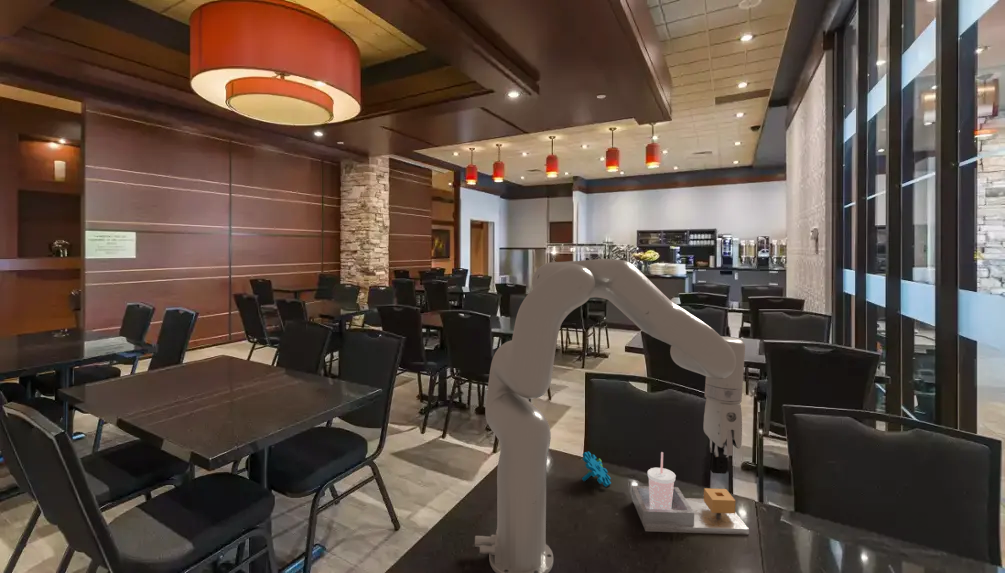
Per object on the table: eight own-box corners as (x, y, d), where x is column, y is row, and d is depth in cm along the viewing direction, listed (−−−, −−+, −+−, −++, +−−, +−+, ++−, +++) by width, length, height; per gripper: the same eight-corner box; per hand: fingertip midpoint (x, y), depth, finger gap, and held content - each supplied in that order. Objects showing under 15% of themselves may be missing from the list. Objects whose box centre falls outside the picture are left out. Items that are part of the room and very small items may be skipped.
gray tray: (643, 531, 101) (643, 512, 101) (630, 501, 113) (631, 484, 113) (748, 534, 100) (749, 515, 100) (725, 504, 112) (725, 486, 112)
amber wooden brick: (712, 512, 104) (712, 499, 104) (703, 500, 109) (704, 488, 109) (735, 513, 104) (735, 500, 103) (725, 501, 109) (725, 488, 108)
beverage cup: (642, 504, 110) (643, 447, 109) (666, 503, 110) (668, 446, 109) (653, 519, 104) (655, 459, 102) (679, 518, 104) (681, 457, 103)
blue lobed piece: (609, 489, 116) (582, 455, 119) (592, 502, 117) (566, 469, 120) (616, 475, 126) (591, 444, 129) (600, 487, 128) (575, 457, 131)
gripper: (756, 404, 96) (750, 489, 98) (725, 383, 111) (720, 458, 113) (719, 402, 97) (714, 487, 98) (694, 382, 112) (689, 456, 113)
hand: (717, 471), depth 105 cm, fingers closed
